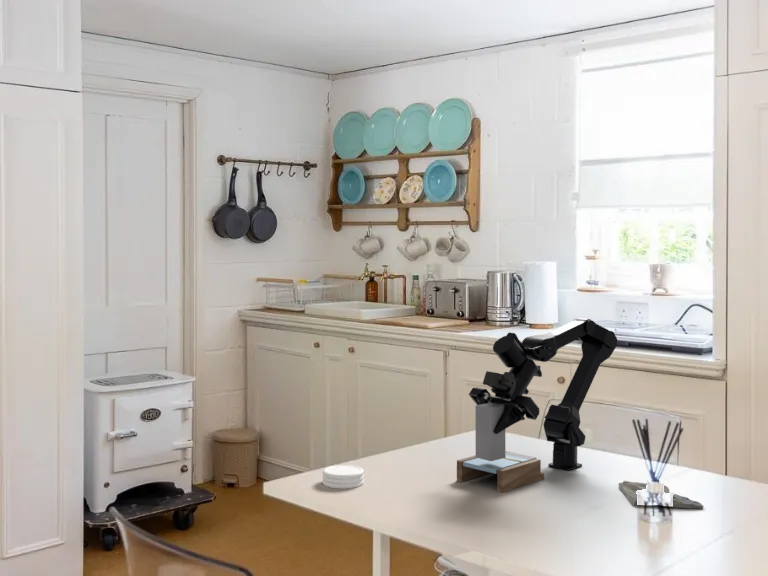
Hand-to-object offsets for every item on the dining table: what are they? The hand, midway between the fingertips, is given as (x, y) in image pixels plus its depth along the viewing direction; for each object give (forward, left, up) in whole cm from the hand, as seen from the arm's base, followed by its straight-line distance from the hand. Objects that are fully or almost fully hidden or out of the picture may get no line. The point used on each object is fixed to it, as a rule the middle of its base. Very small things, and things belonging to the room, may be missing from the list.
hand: (486, 431), depth 214 cm
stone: (-1, 0, -7) cm, 7 cm away
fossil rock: (-21, +33, -14) cm, 42 cm away
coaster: (+22, -26, -14) cm, 37 cm away
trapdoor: (-7, -1, -11) cm, 13 cm away
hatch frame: (-7, -1, -13) cm, 15 cm away
